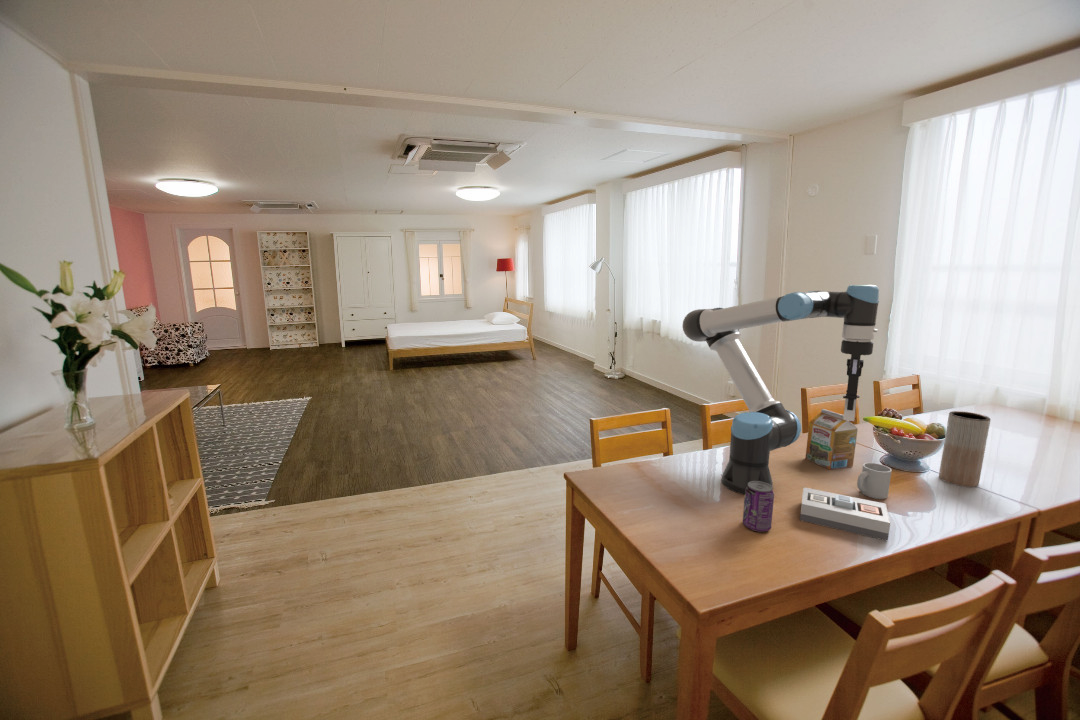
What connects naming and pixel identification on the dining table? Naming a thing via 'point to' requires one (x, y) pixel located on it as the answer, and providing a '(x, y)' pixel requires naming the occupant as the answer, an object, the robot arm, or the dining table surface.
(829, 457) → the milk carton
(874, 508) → the key right
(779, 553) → the dining table surface
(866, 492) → the cup
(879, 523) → the keypad
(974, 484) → the planter
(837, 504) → the key mid
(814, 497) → the key left
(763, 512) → the beverage can
